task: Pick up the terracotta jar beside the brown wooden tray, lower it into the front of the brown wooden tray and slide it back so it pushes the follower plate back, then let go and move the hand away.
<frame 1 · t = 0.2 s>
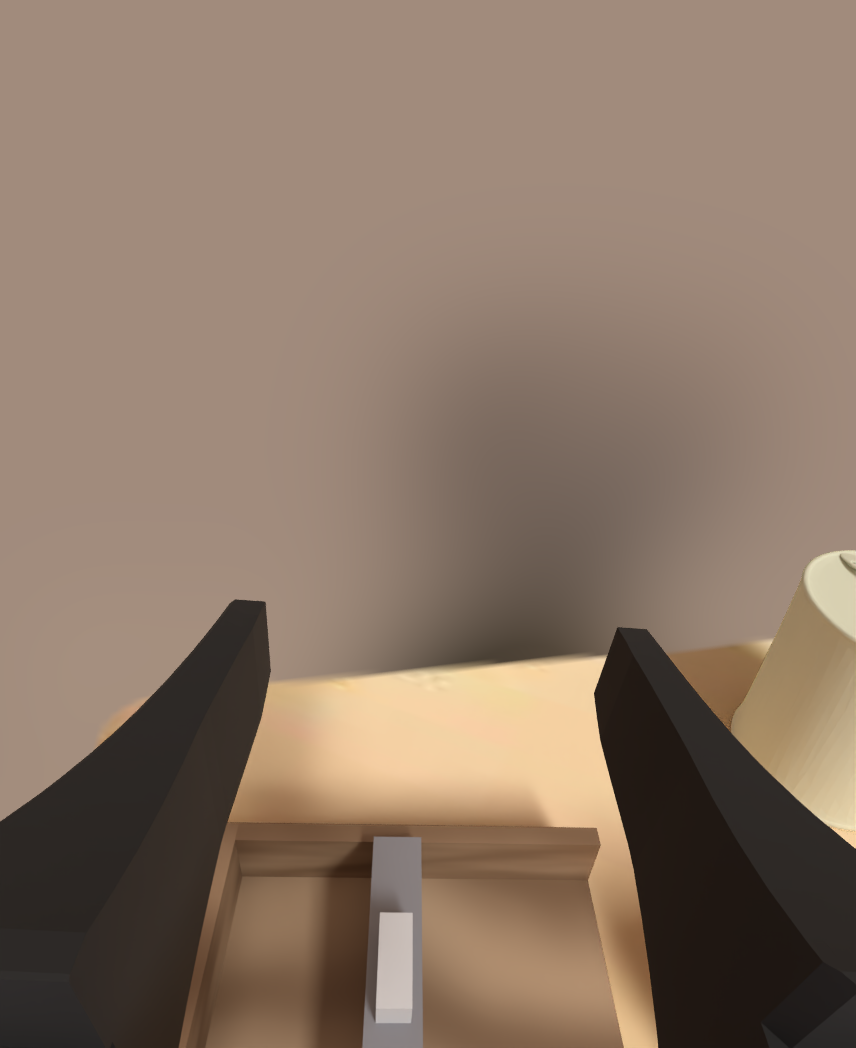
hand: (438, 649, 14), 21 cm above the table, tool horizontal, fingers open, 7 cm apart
brown wooden tray: (416, 1024, 26), on the table
can: (813, 758, 38), on the table
follower: (393, 989, 24), point 3 cm above the table, slide at 0.0 cm
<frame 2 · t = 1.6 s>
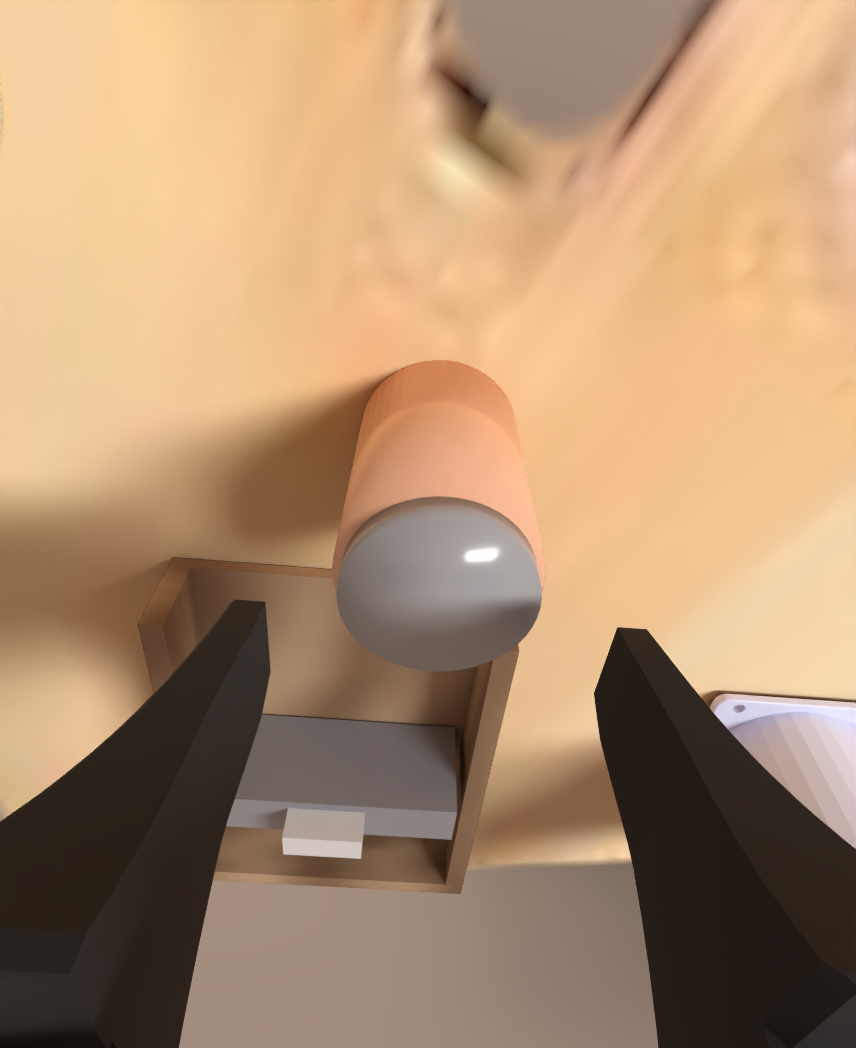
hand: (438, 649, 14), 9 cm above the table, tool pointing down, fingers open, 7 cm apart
jar: (438, 434, 21), on the table
brown wooden tray: (340, 708, 29), on the table
follower: (331, 786, 27), point 3 cm above the table, slide at 0.0 cm
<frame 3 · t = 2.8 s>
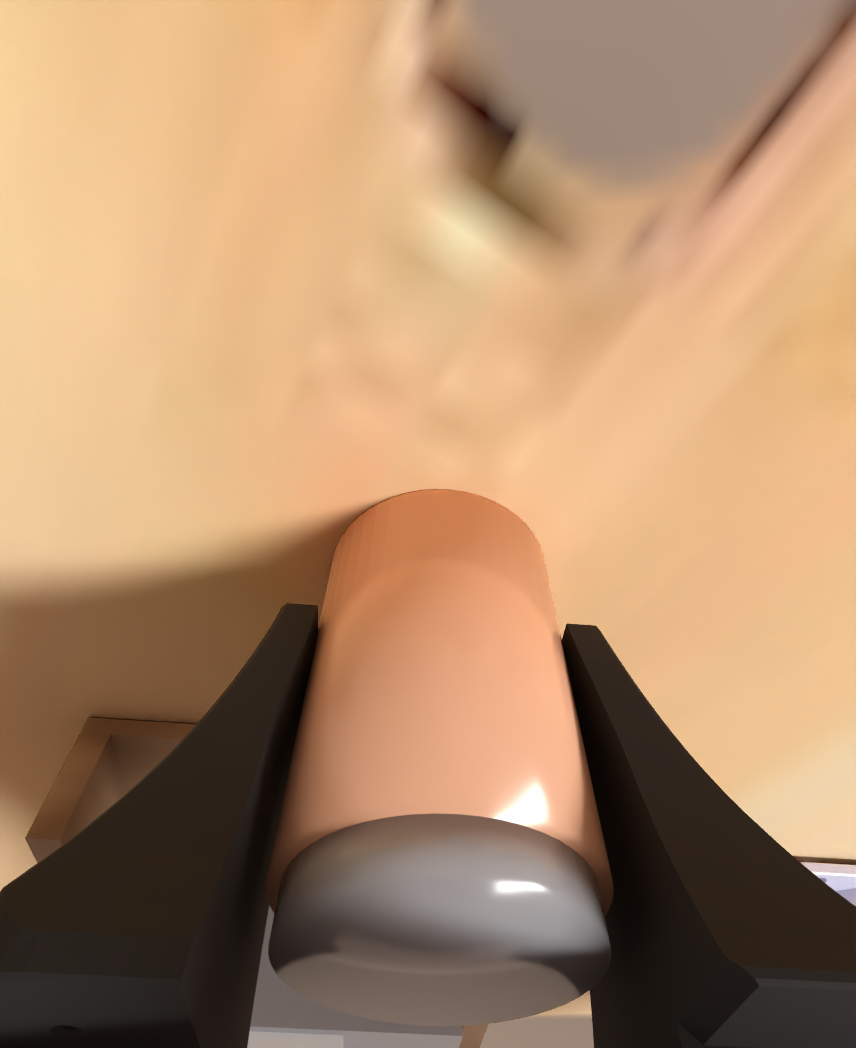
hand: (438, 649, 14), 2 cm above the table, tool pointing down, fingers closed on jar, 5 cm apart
jar: (438, 579, 15), on the table, touching gripper
brown wooden tray: (316, 872, 23), on the table
follower: (301, 987, 21), point 3 cm above the table, slide at 0.0 cm
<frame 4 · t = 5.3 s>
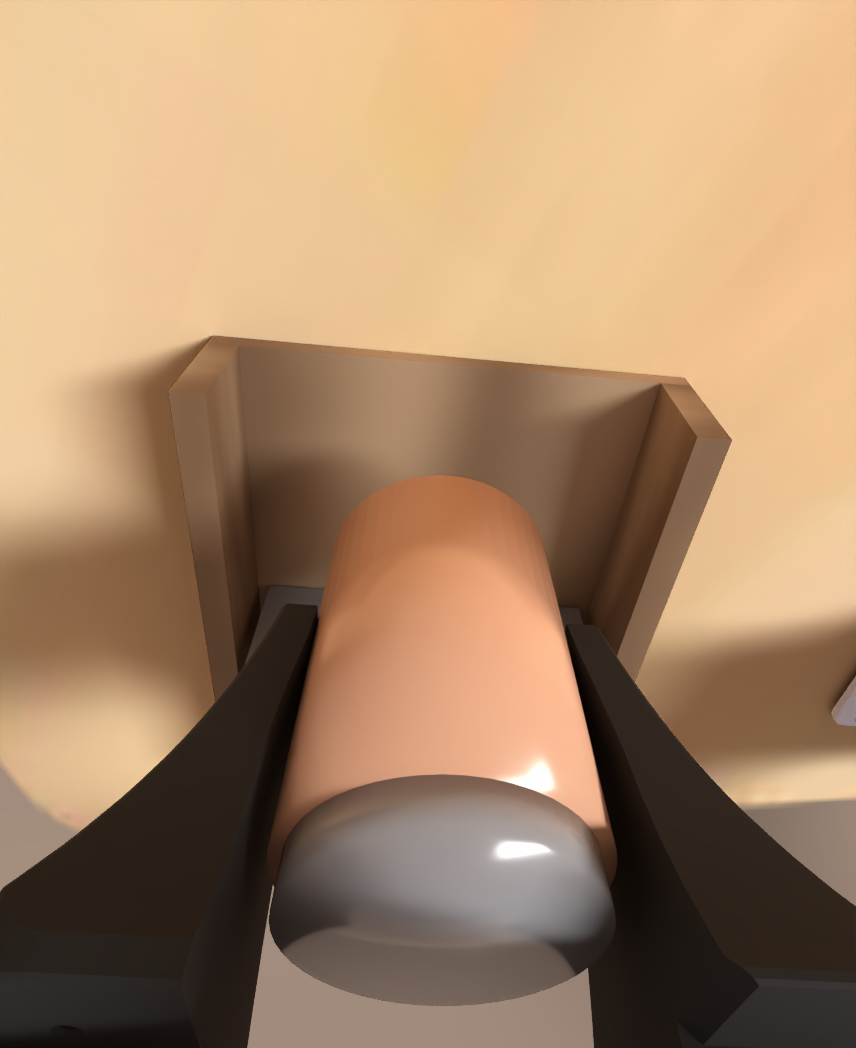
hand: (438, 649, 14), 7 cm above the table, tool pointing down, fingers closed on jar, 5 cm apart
jar: (438, 568, 15), point 5 cm above the table, touching gripper
brown wooden tray: (426, 584, 22), on the table
follower: (421, 678, 20), point 3 cm above the table, slide at 0.0 cm
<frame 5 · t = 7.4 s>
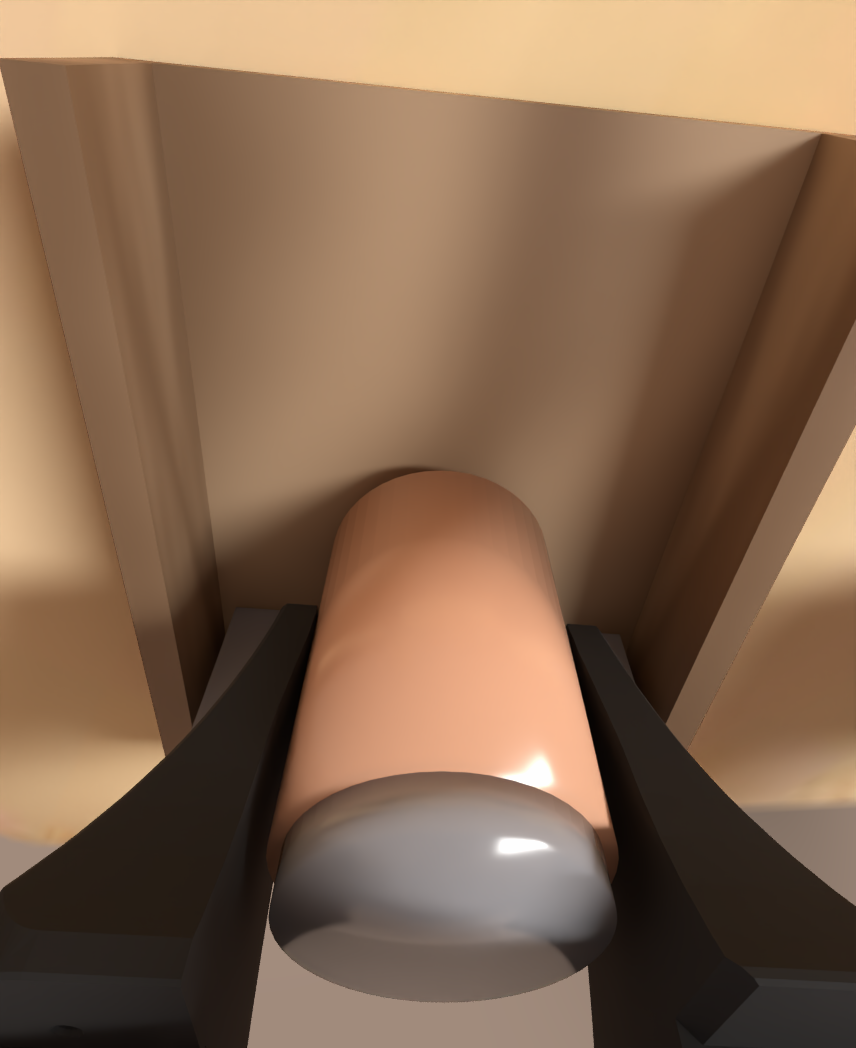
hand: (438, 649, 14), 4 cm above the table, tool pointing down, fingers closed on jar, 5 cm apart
jar: (439, 563, 15), point 1 cm above the table, touching follower, gripper
brown wooden tray: (443, 493, 16), on the table
follower: (425, 726, 16), point 3 cm above the table, slide at 3.7 cm, touching jar
when the fingers open (4 cm above the table, at t = 7.9 s): jar stays where it is, resting on brown wooden tray.
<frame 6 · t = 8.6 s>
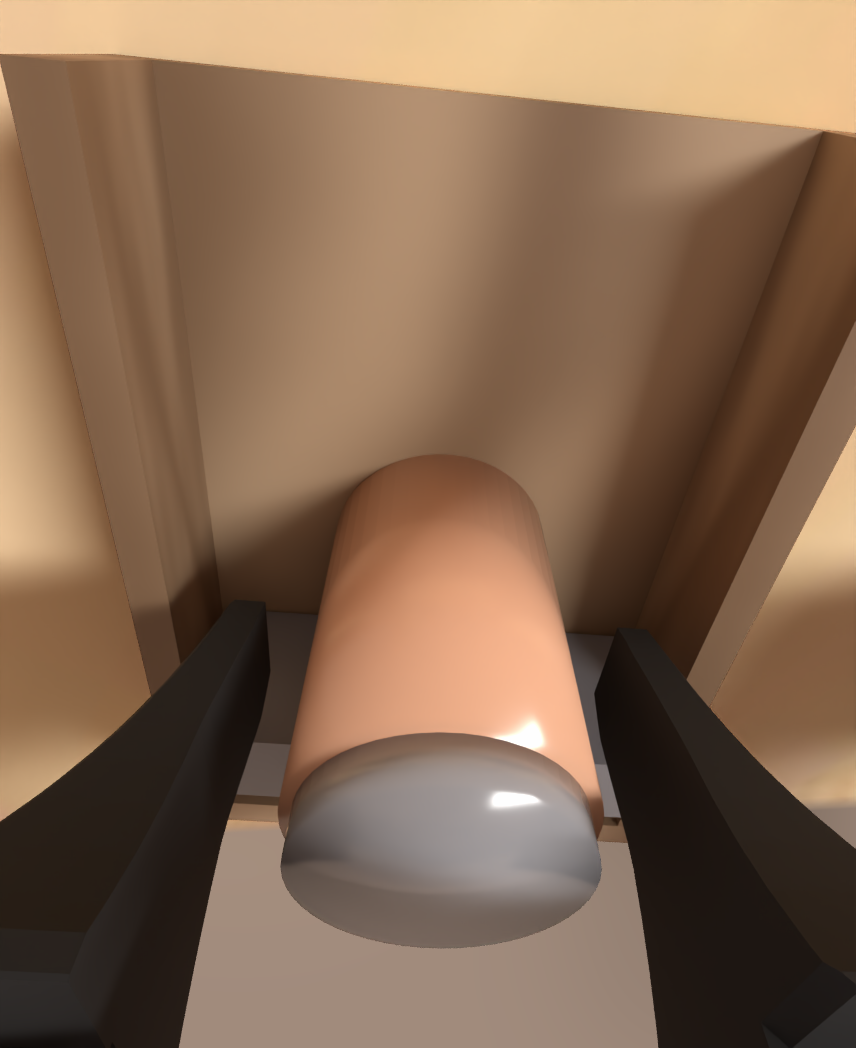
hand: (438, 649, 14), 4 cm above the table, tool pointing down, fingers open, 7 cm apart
jar: (439, 543, 16), resting on brown wooden tray
brown wooden tray: (444, 491, 16), on the table
follower: (425, 728, 16), point 3 cm above the table, slide at 3.8 cm
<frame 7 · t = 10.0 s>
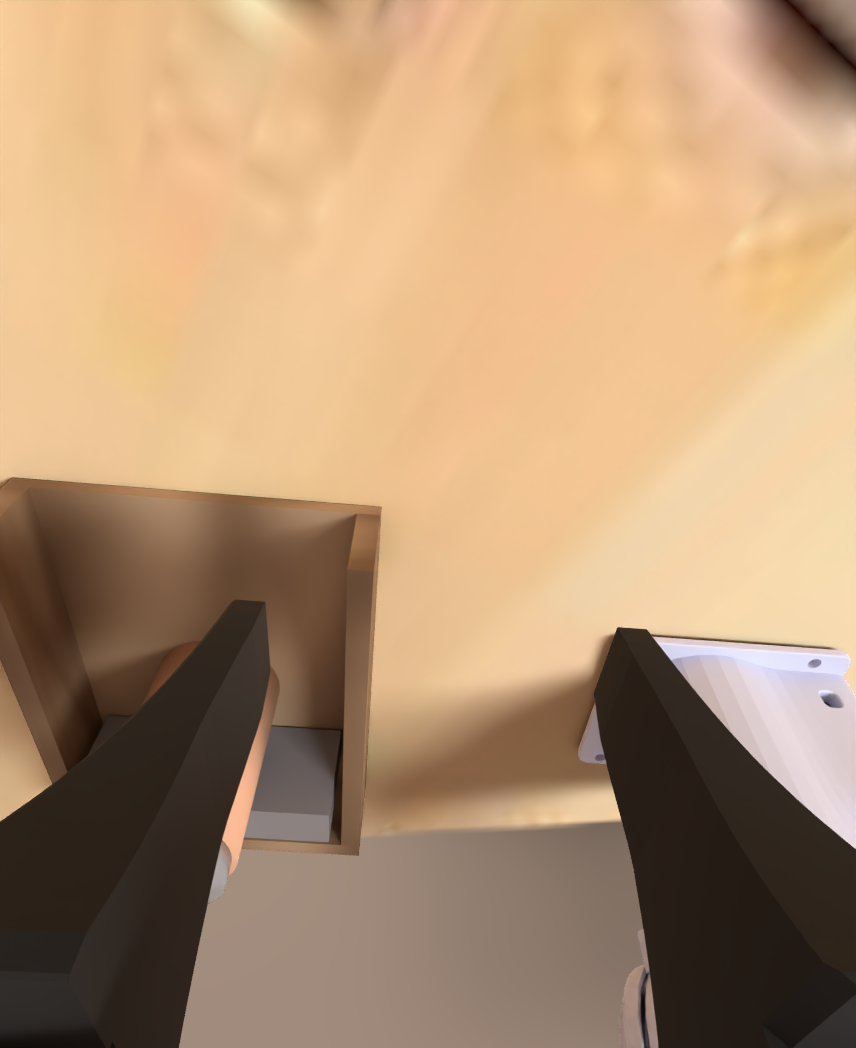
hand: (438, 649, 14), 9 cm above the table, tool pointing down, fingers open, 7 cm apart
jar: (220, 682, 28), resting on brown wooden tray
brown wooden tray: (220, 653, 27), on the table
follower: (211, 789, 27), point 3 cm above the table, slide at 3.8 cm
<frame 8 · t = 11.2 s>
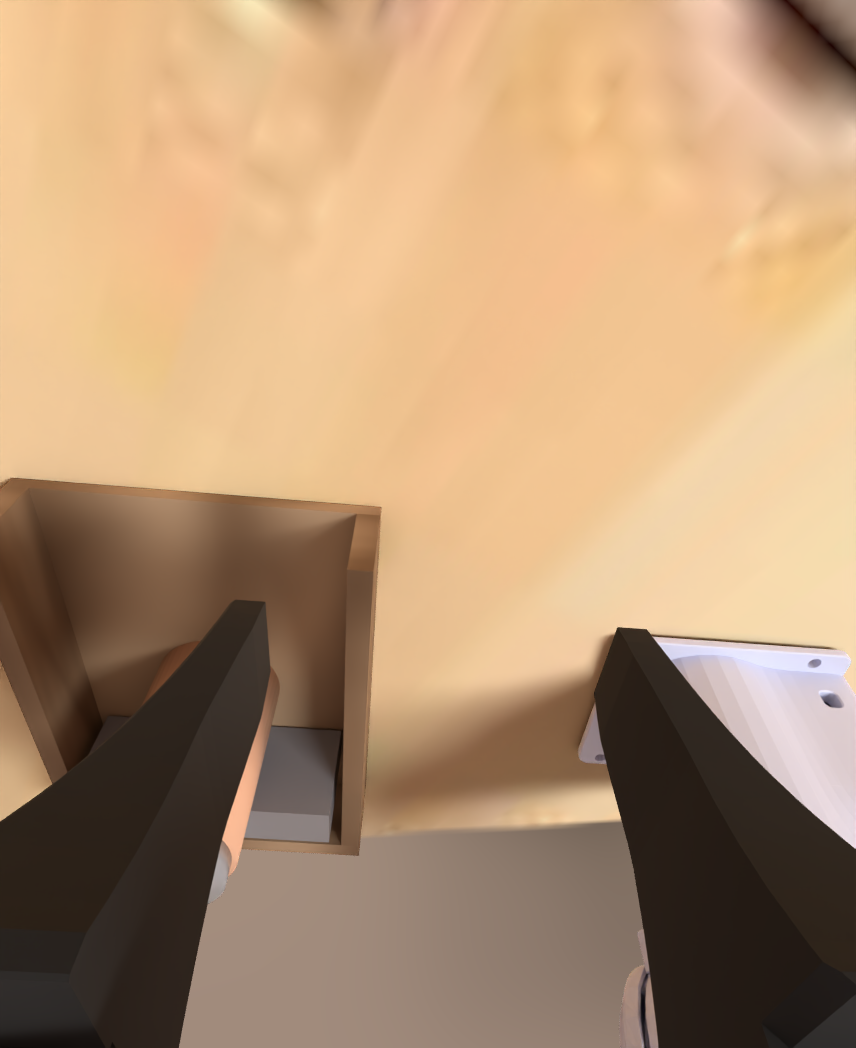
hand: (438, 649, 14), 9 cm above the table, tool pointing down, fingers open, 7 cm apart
jar: (220, 682, 28), resting on brown wooden tray
brown wooden tray: (220, 654, 27), on the table
follower: (211, 790, 27), point 3 cm above the table, slide at 3.8 cm
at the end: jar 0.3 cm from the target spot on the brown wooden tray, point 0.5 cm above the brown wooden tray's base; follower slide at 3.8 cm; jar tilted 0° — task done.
